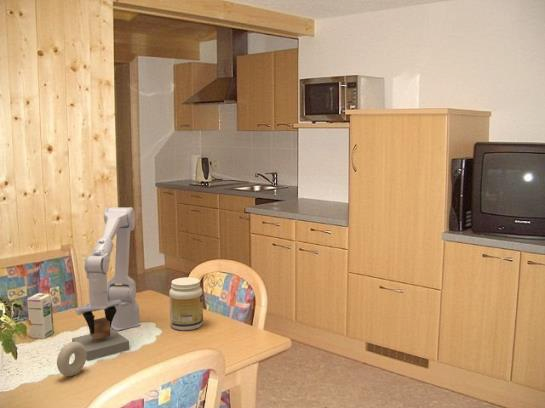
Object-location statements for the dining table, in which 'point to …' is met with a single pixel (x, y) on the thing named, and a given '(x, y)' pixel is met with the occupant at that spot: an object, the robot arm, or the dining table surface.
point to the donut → (65, 355)
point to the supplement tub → (186, 304)
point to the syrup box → (40, 315)
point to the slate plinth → (103, 345)
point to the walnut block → (101, 328)
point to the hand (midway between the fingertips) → (100, 331)
